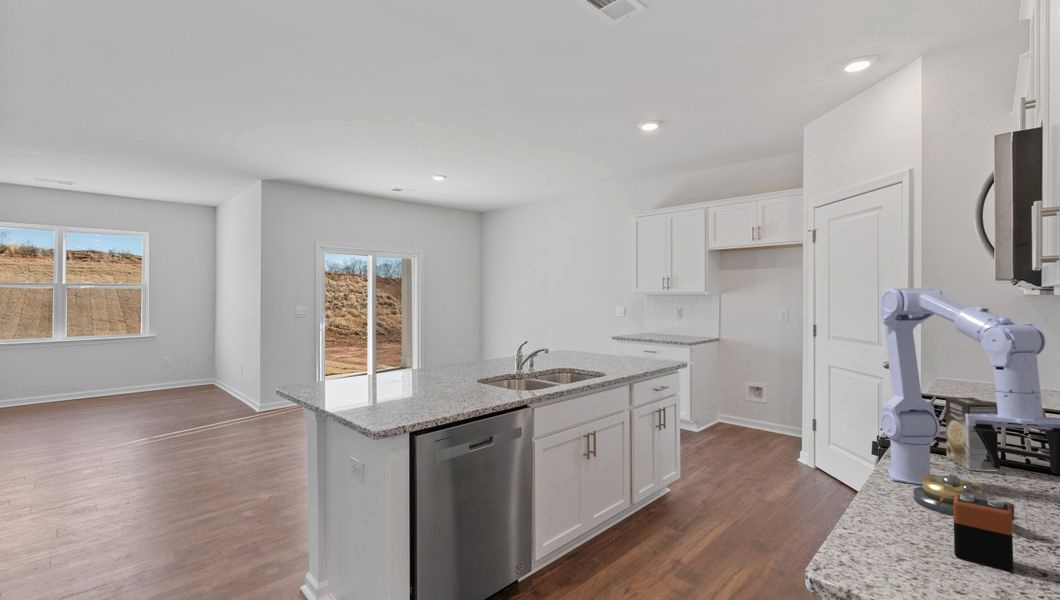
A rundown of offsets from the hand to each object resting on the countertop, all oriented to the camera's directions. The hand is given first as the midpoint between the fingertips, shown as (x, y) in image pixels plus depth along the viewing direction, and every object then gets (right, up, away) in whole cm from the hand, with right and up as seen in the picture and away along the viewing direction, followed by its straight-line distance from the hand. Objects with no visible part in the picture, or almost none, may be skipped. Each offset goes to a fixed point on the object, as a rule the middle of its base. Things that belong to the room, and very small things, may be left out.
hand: (1025, 470), depth 86 cm
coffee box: (+22, -11, +35) cm, 43 cm away
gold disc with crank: (-2, -10, +9) cm, 13 cm away
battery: (-15, -12, -8) cm, 20 cm away
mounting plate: (-2, -11, +13) cm, 17 cm away
